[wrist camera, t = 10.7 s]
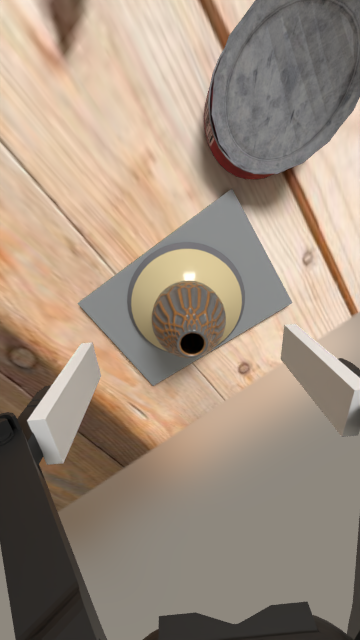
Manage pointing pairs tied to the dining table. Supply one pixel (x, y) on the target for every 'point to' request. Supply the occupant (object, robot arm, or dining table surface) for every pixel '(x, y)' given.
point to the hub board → (195, 265)
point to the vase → (188, 319)
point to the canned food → (283, 84)
